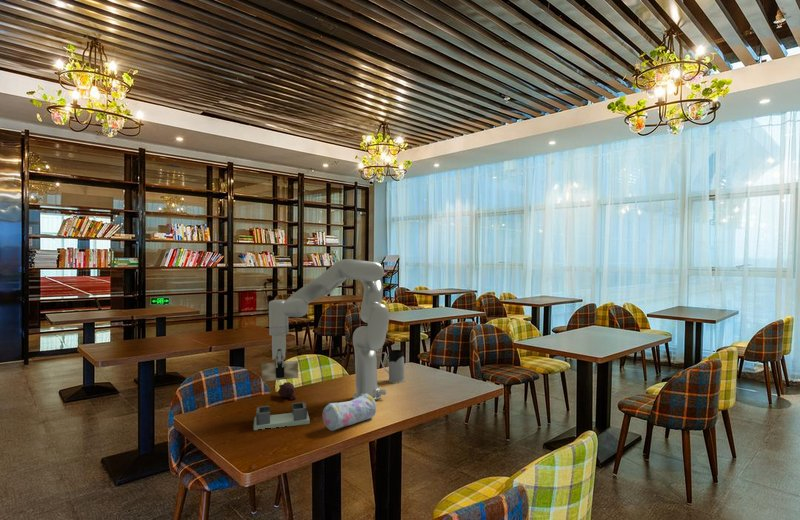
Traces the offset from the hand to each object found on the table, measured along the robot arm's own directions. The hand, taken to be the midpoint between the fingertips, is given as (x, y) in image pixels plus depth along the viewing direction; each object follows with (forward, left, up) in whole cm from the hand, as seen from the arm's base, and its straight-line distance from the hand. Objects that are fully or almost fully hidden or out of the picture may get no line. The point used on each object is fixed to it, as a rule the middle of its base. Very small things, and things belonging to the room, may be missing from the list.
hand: (280, 375), depth 185 cm
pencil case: (-32, +6, -16) cm, 36 cm away
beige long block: (0, 0, -1) cm, 1 cm away
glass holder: (-30, -59, -16) cm, 68 cm away
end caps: (-5, +9, -14) cm, 17 cm away
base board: (-5, +9, -15) cm, 19 cm away
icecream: (+10, -23, -16) cm, 29 cm away
